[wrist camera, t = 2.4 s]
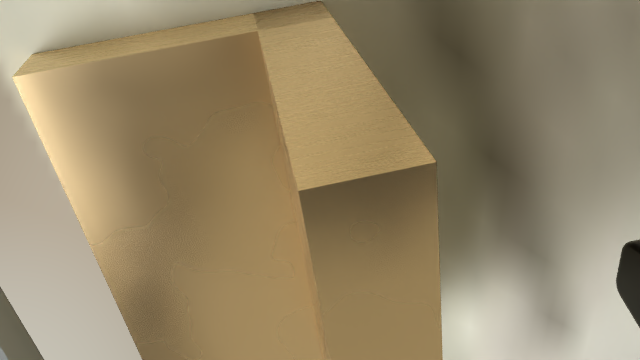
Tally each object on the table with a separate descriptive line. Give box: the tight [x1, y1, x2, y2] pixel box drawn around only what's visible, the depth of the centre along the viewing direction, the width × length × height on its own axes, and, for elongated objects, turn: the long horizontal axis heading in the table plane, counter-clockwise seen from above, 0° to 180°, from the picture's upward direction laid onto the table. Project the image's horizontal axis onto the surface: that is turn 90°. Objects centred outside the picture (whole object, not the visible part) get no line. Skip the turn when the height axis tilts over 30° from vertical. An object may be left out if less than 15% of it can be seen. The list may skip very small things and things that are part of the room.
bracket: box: [12, 1, 442, 360], centre depth 9 cm, size 8×5×6 cm, turn 8°
